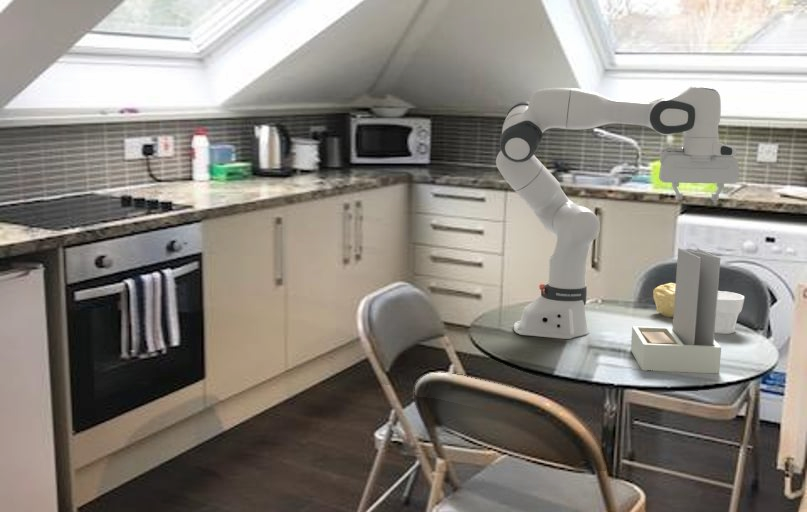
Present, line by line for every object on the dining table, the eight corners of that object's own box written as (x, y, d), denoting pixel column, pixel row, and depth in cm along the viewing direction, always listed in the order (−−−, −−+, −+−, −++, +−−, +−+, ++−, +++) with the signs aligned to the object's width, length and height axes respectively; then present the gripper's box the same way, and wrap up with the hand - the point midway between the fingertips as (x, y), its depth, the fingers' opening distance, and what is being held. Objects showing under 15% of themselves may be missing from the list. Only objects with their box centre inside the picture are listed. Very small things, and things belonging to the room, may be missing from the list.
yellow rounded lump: (646, 312, 288) (648, 280, 286) (678, 310, 291) (680, 278, 289) (665, 320, 277) (667, 287, 275) (698, 318, 280) (700, 286, 278)
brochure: (711, 370, 227) (720, 257, 222) (691, 370, 227) (699, 257, 221) (689, 354, 241) (698, 248, 236) (670, 354, 241) (678, 248, 235)
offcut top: (650, 355, 229) (651, 342, 228) (640, 344, 240) (641, 331, 239) (673, 355, 229) (674, 343, 228) (662, 344, 240) (663, 332, 239)
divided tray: (642, 370, 226) (643, 344, 225) (630, 350, 244) (632, 326, 243) (719, 373, 224) (721, 347, 223) (702, 352, 242) (704, 328, 241)
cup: (703, 322, 275) (706, 288, 273) (744, 328, 269) (748, 293, 267) (694, 331, 264) (697, 296, 262) (737, 337, 258) (740, 301, 256)
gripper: (662, 148, 228) (659, 200, 230) (742, 149, 226) (738, 202, 228) (658, 146, 234) (654, 197, 236) (736, 147, 232) (732, 199, 235)
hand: (696, 199), depth 232 cm, fingers open, 8 cm apart
